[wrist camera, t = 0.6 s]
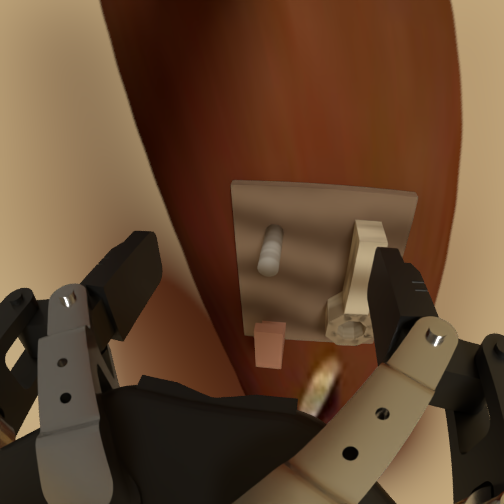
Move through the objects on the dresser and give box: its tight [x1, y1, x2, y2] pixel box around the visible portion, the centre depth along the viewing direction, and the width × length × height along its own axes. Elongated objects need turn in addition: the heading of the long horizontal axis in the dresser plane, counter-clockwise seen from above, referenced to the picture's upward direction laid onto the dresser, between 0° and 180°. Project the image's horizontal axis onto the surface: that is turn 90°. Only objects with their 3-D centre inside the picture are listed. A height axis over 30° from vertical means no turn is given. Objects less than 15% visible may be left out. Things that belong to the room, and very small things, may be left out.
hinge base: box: [231, 180, 418, 344], centre depth 32 cm, size 22×18×6 cm
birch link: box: [325, 220, 388, 346], centre depth 32 cm, size 15×6×4 cm, turn 3°
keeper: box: [254, 321, 286, 369], centre depth 36 cm, size 7×3×6 cm, turn 3°
